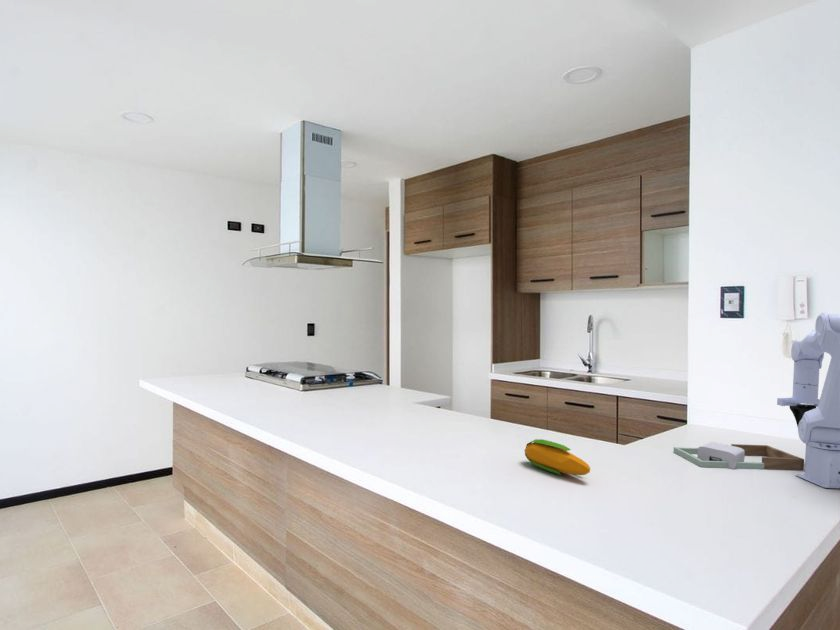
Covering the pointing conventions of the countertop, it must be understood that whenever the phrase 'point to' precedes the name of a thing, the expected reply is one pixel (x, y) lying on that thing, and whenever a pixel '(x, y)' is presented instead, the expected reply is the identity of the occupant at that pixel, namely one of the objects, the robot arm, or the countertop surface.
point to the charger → (721, 453)
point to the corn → (555, 458)
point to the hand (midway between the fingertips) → (803, 431)
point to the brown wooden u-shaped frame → (773, 457)
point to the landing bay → (716, 464)
